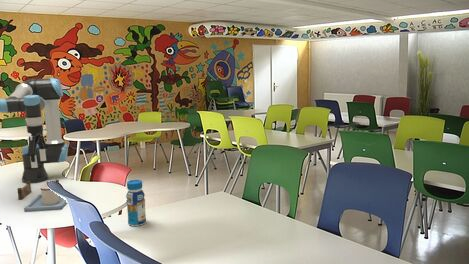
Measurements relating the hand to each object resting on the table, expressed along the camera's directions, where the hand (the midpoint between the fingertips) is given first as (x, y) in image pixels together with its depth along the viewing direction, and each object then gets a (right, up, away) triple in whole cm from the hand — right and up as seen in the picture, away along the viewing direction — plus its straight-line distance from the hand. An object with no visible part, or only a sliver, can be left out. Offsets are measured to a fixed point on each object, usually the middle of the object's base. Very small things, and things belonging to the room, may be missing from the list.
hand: (39, 164), depth 211 cm
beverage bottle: (+59, -25, -28) cm, 70 cm away
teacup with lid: (+6, -20, +1) cm, 21 cm away
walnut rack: (-7, -19, +15) cm, 25 cm away
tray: (+6, -21, 0) cm, 22 cm away
